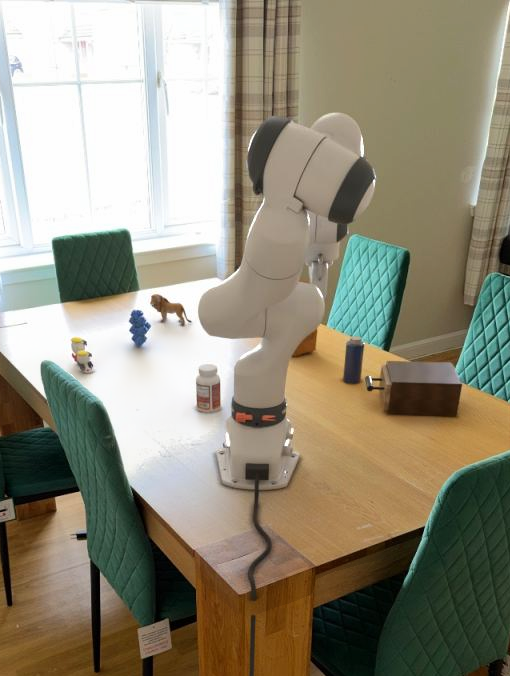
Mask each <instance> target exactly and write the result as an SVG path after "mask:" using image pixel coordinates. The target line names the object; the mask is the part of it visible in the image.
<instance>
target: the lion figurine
mask: <svg viewBox="0 0 510 676" xmlns="http://www.w3.org/2000/svg"><path fill="white" fill-rule="evenodd" d="M149 305H150V306H151V307H152V308H153V309H155V310H156V312H158V313H160V316H161V319H160V323H164V322H165V321H166V320H167V319H168V314H170V315H173V314H175V315H176V316H177V317H178V318H179V319H178V322H180V325H181V326H184V325H185V324H186V321H187V322H188V323H192V320H191V319H188V317H187V313H186V310H185V307H184V306H183V304H182V303H180V302H170V301H169V300H168V299H167V298H166V297H163V295H161V294H159V293H154V294H152V295H151V298H150V304H149ZM183 315H184V316H183ZM185 320H186V321H185Z"/></svg>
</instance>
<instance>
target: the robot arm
mask: <svg viewBox="0 0 510 676" xmlns="http://www.w3.org/2000/svg"><path fill="white" fill-rule="evenodd" d="M248 145H249V146H248V151H247V155H246V168H247V173H248V174H247V175H248V177H249V179H250V181H251V182H252V192H253V193H254V195H255V196H260V195H263V201H262V204H261V205H260V207H259V209H258V211H257V212H256V214H255V216H254V218H253V220H252V221H251V225H250V227H249V230H248V232H247V233H248V234H247V237H246V240H245V245H244V250H243V256H242V259H241V264H240V266H239V267H238V269H236V271H235V272H234V273H232V274H231V275H230V276H229V277H227V278H226V279H225V280H223V281H220V282H219V283H217V284H215V285H213V286H209V287H208V288H206V290H205V291H204V292H203V293H202V295H201V297H200V299H199V303H198V305H197V306H198V308H197V315H198V316H197V317H198V320H199V323H200V326H201V327H202V329H203V330H204V331H205V333H206V334H207V335H208V336H210V337H214V338H215V337H216V338H221V339H229V340H236V339H238V340H240V339H261V340H260V342H259V344H257V345H256V346H255V347H254V348H253V349H251V350H249V351H247V352H244V354H242V355H241V356H240V357H239V358H238V359H237V361H236V362H235V365H234V367H233V395H232V397H231V403H230V409H231V411H230V412H231V414H230V416H229V417H228V418H227V419H225V425H224V426H225V431H224V433H225V435H224V436H225V437H224V440H225V441H223V443H222V446H223V447H219V448H218V449H216V451H215V456H216V461H217V465H218V466H217V467H218V471H219V476H220V480H221V484H222V485H224V486H226V487H230V488H234V489H242V490H253V491H254V496H253V499H254V500H253V511H252V512H253V513H252V520H253V524H254V527H255V528H256V530H257V531H258V532H259V533H260V535H261V536H262V537H263V538H264V539H265V541H266V548H265V550H264V551H263V552H262V553H261V554H260V555H259V556H257V558H256V559H254V560H253V561H252V563H250V566H249V568H248V571H247V577H248V581H249V584H250V591H251V592H250V593H251V595H250V596H251V601H252V602H257V587H256V586H257V585H256V582H255V579H254V570H255V568H256V567H257V565H258V564H260V562H261V561H263V560H264V559H265V558H266V557H267V556H268V555H269V554H270V552H271V550H272V546H273V545H272V540H271V538H270V536H269V535H268V533H267V532H266V531H265V530H264V529H263V528H262V527H261V525H260V523H259V521H258V512H259V496H260V495H259V493H260V491H270V490H278V489H283V488H286V487H287V486H288V485H289V482H290V480H291V478H292V476H293V474H294V471H295V469H296V467H297V464H298V462H299V460H300V452H299V451H296V450H294V449H293V446H292V440H293V438H294V434H293V433H294V428H293V422H292V421H291V420H289V418H288V417H287V409H288V403H287V398H286V382H287V374H288V368H289V365H290V361H291V359H292V357H293V353H294V351H295V350H296V348H297V347H298V346H299V344H300V343H301V342H302V341H303V340H304V339H305V338H306V337H307V336H308V335H310V334H311V333H312V332H314V331H315V330H316V329H317V330H318V328H319V326H320V325H321V323H322V321H323V319H324V317H325V311H326V304H325V301H326V300H327V296H328V279H329V268H330V267H332V266H333V265H334V263H333V262H334V261H336V260H338V259H339V258H340V246H341V245H340V244H341V241H342V240H343V239H344V238H346V236H347V235H348V234H349V224H351V223H353V222H355V221H356V220H357V218H359V217H360V216H361V215H362V214H363V213H364V212H365V211H366V209H367V208H368V207H369V206H370V204H371V201H372V198H373V196H374V193H375V186H376V181H377V176H376V172H375V169H374V167H373V166H372V165H371V163H369V161H368V158H367V157H366V156H364V141H363V136H362V131H361V127H360V126H359V125H358V123H357V122H356V121H355V119H354V118H353V117H352V116H350V115H348V114H346V113H343V112H338V111H337V112H335V111H334V112H329V113H326V114H324V115H322V116H320V117H319V118H318V119H316V120H315V121H314V123H313V124H312V125H311V126H310V127H307V126H304V125H302V124H299V123H297V122H294V119H292V118H289V117H285V116H281V115H272V116H269V117H268V118H266V119H265V120H263V121H262V122H261V124H260V126H259V127H258V128H257V129H256V130H255V132H254V134H253V135H252V137H251V139H250V142H249V144H248ZM304 266H307V267H308V277H309V281H310V284H309V283H304V282H299V280H301V279H300V278H301V275H302V272H303V269H304ZM256 616H257V615H256V614H251V615H250V632H249V633H250V634H249V637H250V638H249V672H248V673H249V675H248V676H255V650H256V649H255V648H256V622H257V621H256V618H257V617H256Z"/></svg>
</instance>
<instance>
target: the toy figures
mask: <svg viewBox="0 0 510 676" xmlns="http://www.w3.org/2000/svg"><path fill="white" fill-rule="evenodd" d="M70 341H71V343H70V346H71V350H72V353H71V357H72V358H73V360H74V362H75V363H76V364H77V365H78V367H79V369H80V370H81V371H82V372H84V374H90V373H93V372H94V370H93V368H94V364H93V362H92V360H91V358H92V357H93V354H92V353H91V352H89V351H87V350H86V347H87V346H88V342H87V340H85V339H83V338H82V337H80V336H74V337H72V338H71V339H70Z"/></svg>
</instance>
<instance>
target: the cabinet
mask: <svg viewBox="0 0 510 676" xmlns="http://www.w3.org/2000/svg"><path fill="white" fill-rule="evenodd" d="M385 365H386V366H387V370H388V374H389V377H390V380H391V393H390V400H389V408H388V410H386V412H387V415H389V416H412V417H413V416H415V417H444V418H445V417H447V418H449V417H450V418H457V416H458V410H459V405H460V398H461V394H462V389H463V388H462V387H463V382H462V381H461V380H462V379H460V376H459V374H458V373H457V370H456V368H455V366H454V364H453V362H443V361H442V362H441V361H437V362H436V361H407V360H404V361H402V360H386V362H385Z"/></svg>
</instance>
